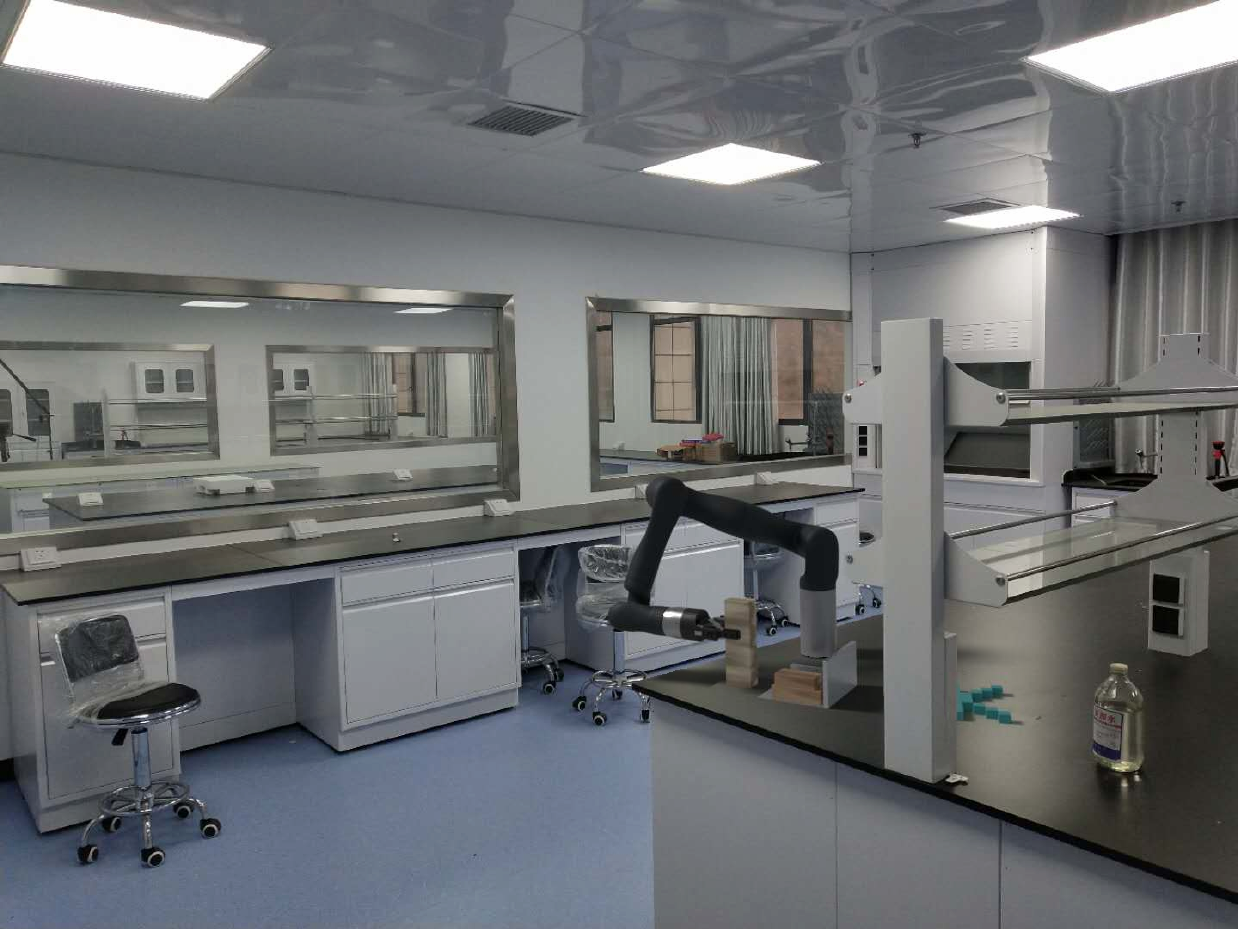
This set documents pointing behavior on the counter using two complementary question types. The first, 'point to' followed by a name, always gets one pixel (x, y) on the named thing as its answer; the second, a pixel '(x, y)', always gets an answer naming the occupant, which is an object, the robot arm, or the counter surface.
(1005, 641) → the counter surface
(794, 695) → the block
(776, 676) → the upper offcut
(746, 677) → the plywood board
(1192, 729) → the counter surface
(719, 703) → the counter surface
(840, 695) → the board rack
